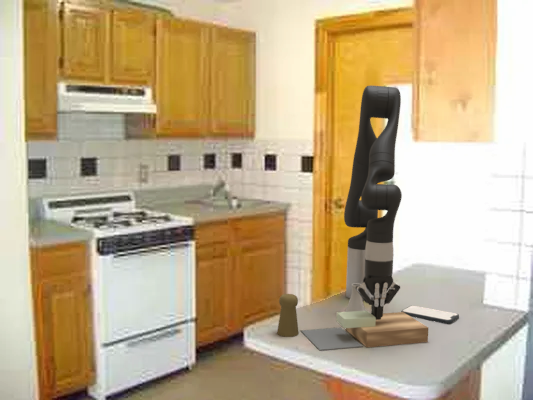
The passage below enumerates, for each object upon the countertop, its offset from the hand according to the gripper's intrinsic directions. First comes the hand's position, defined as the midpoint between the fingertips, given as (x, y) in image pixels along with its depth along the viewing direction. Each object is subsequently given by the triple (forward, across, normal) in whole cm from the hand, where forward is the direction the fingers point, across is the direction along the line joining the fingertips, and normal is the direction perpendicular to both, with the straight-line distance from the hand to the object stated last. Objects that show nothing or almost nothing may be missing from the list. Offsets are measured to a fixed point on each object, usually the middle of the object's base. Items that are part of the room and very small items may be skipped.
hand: (376, 318), depth 163 cm
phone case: (+6, -25, -13) cm, 29 cm away
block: (0, +6, 0) cm, 6 cm away
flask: (+5, -2, -18) cm, 19 cm away
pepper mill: (+5, +23, -8) cm, 25 cm away
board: (+5, -3, 0) cm, 6 cm away
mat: (+5, +13, -1) cm, 14 cm away
